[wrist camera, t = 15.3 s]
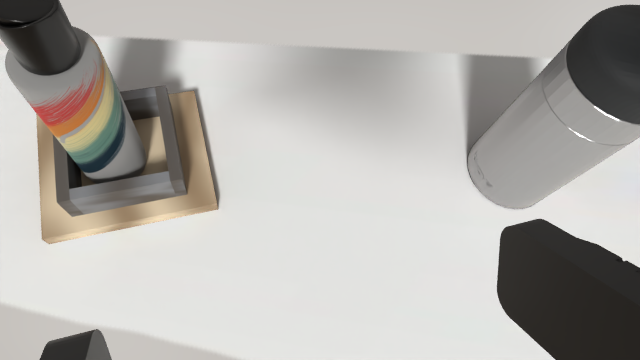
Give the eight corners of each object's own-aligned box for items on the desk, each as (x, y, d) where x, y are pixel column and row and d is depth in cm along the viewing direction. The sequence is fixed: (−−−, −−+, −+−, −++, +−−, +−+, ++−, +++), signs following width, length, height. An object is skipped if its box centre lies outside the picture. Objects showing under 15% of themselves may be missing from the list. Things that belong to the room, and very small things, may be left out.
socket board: (195, 99, 48) (189, 69, 44) (218, 209, 43) (214, 188, 39) (42, 121, 45) (19, 91, 40) (49, 244, 40) (23, 226, 35)
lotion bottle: (74, 151, 42) (-58, -23, 24) (132, 126, 44) (50, -52, 26) (98, 200, 41) (-23, 52, 23) (158, 172, 43) (89, 15, 25)
